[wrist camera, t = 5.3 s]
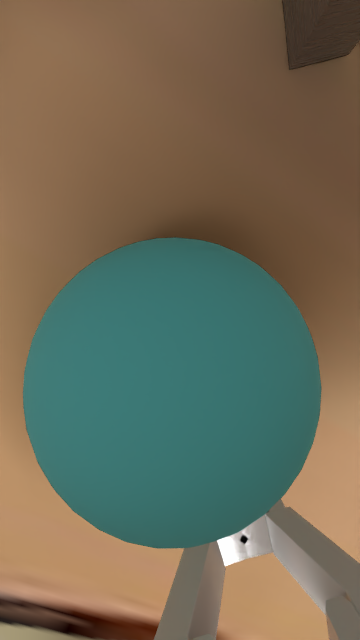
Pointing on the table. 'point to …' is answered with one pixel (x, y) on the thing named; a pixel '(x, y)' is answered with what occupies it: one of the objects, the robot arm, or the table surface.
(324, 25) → the bridge
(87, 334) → the ball
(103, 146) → the table surface
